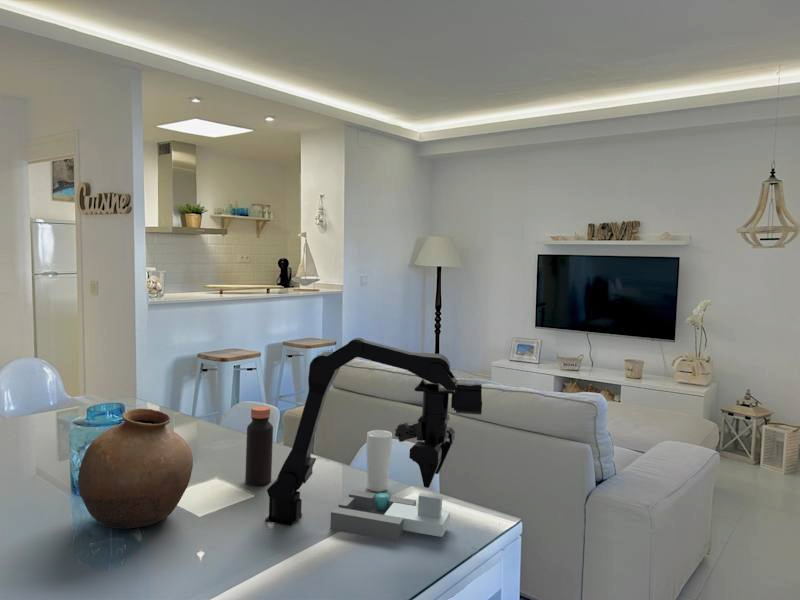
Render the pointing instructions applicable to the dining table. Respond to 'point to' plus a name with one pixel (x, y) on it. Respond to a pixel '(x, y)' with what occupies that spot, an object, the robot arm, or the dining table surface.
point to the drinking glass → (378, 459)
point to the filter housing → (368, 517)
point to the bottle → (259, 447)
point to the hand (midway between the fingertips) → (431, 480)
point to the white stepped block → (422, 515)
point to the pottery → (135, 471)
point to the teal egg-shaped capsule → (382, 501)
